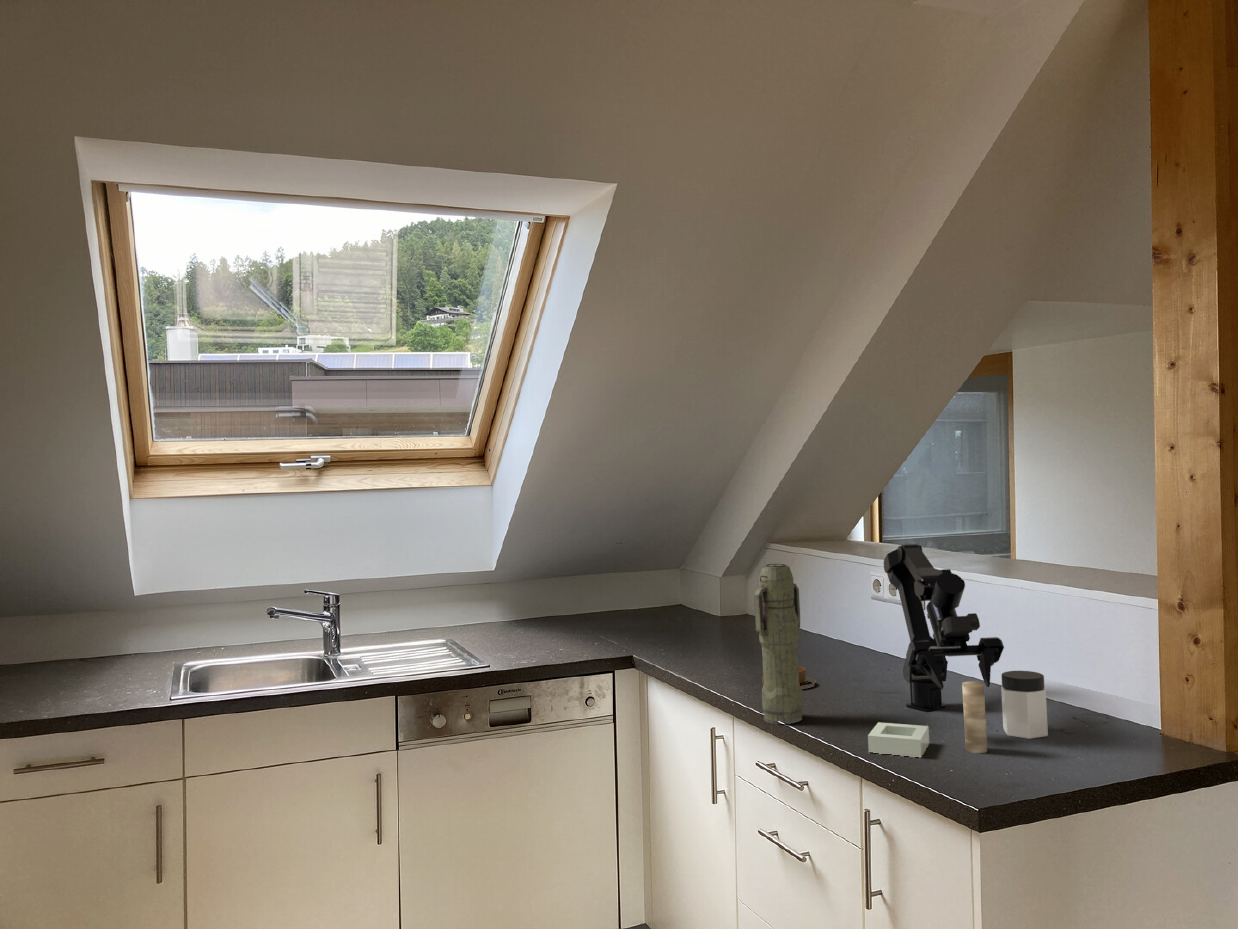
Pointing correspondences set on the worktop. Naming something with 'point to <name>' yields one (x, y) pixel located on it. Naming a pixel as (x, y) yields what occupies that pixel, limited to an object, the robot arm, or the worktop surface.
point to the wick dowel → (974, 717)
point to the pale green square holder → (899, 739)
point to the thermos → (779, 642)
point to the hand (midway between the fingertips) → (965, 687)
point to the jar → (1024, 704)
